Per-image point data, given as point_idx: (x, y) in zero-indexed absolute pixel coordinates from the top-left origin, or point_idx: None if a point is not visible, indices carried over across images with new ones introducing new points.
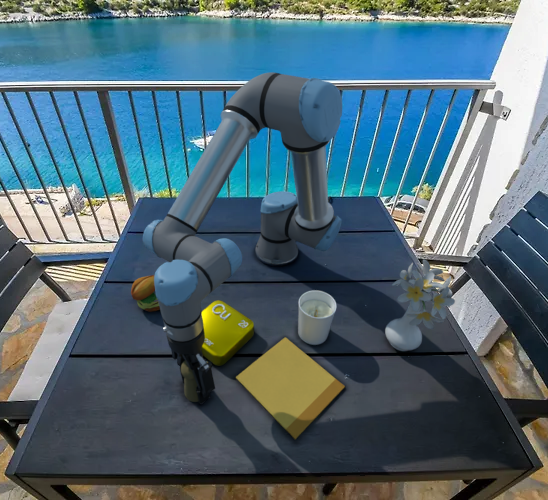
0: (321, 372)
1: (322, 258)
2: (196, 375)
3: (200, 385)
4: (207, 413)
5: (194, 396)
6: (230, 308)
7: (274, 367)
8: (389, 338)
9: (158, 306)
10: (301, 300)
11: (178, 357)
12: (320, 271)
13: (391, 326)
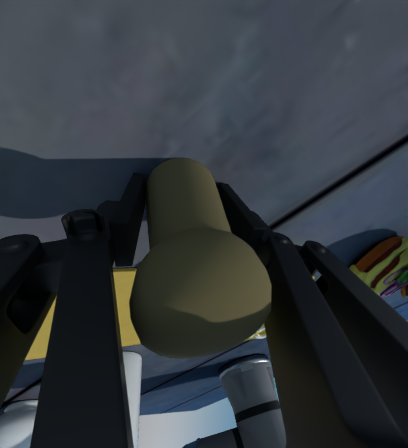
0: (34, 355)
1: (194, 383)
2: (44, 394)
3: (65, 269)
4: (94, 165)
5: (156, 178)
6: (246, 339)
7: None
8: (15, 426)
9: (374, 260)
10: (135, 445)
11: (321, 312)
12: (184, 380)
13: (21, 444)
